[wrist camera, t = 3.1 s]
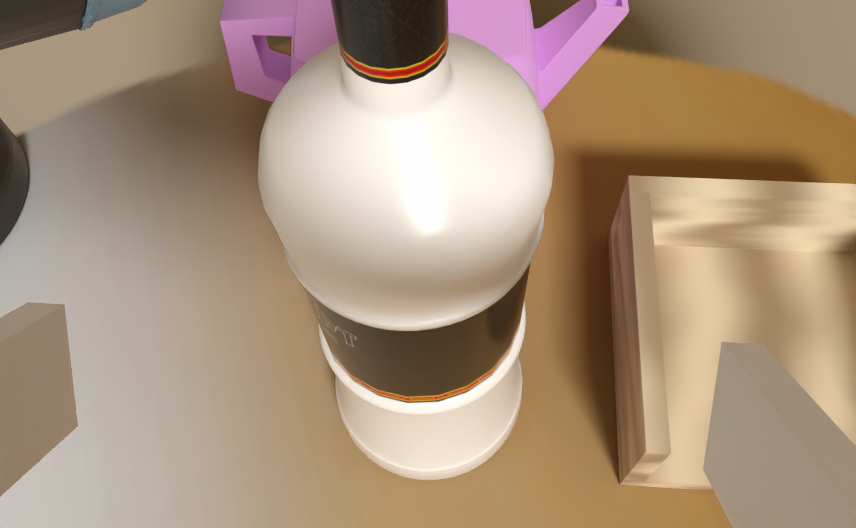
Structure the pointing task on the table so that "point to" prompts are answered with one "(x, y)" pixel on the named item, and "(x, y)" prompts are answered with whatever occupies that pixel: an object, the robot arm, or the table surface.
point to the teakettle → (467, 15)
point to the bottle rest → (724, 307)
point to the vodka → (412, 228)
